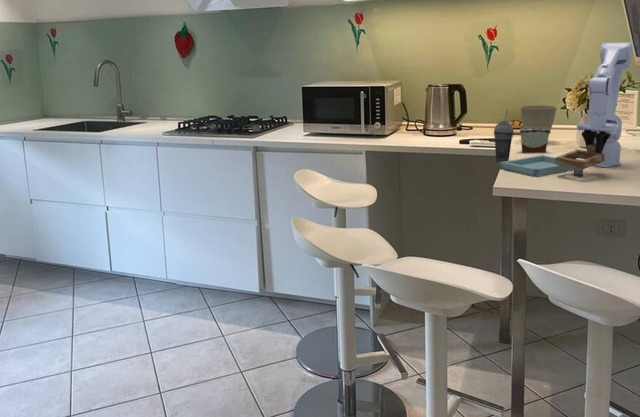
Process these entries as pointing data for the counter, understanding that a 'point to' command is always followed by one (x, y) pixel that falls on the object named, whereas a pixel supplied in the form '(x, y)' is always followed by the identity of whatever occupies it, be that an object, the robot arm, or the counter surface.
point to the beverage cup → (503, 140)
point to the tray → (534, 166)
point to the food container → (534, 139)
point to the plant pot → (538, 116)
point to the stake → (578, 171)
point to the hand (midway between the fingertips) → (594, 152)
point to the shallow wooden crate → (589, 156)
